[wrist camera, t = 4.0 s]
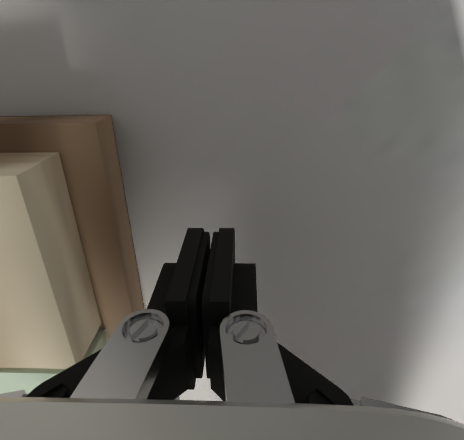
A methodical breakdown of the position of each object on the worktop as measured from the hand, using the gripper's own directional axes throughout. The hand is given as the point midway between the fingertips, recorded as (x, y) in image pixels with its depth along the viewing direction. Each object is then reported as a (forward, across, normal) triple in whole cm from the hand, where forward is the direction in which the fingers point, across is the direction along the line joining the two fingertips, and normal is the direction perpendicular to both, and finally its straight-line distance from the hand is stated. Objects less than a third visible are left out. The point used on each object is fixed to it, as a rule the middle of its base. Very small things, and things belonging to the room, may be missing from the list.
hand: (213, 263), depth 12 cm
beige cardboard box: (+1, +9, 0) cm, 9 cm away
